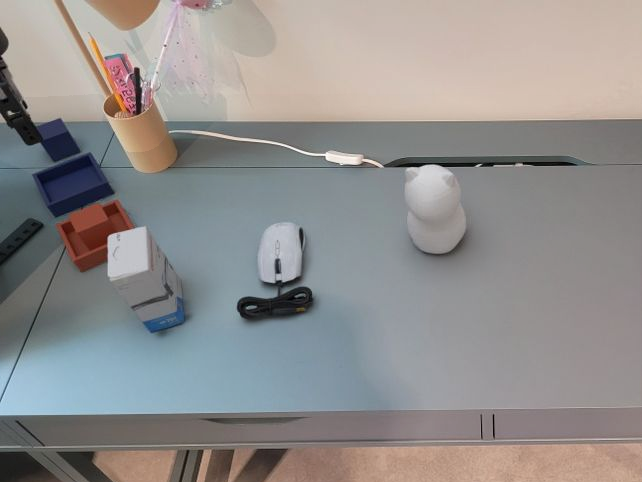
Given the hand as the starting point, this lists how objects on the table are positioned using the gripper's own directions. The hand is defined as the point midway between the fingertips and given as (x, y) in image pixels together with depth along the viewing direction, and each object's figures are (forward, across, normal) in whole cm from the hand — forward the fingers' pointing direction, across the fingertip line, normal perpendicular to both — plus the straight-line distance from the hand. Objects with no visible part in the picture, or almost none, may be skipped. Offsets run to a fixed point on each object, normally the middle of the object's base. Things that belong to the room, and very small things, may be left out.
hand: (27, 126), depth 89 cm
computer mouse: (+16, +30, +20) cm, 39 cm away
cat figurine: (+16, +38, +43) cm, 59 cm away
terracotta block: (+16, +8, 0) cm, 18 cm away
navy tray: (+17, -6, 0) cm, 18 cm away
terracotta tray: (+17, +8, 0) cm, 19 cm away
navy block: (+17, -17, +1) cm, 24 cm away
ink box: (+17, +26, +4) cm, 31 cm away
